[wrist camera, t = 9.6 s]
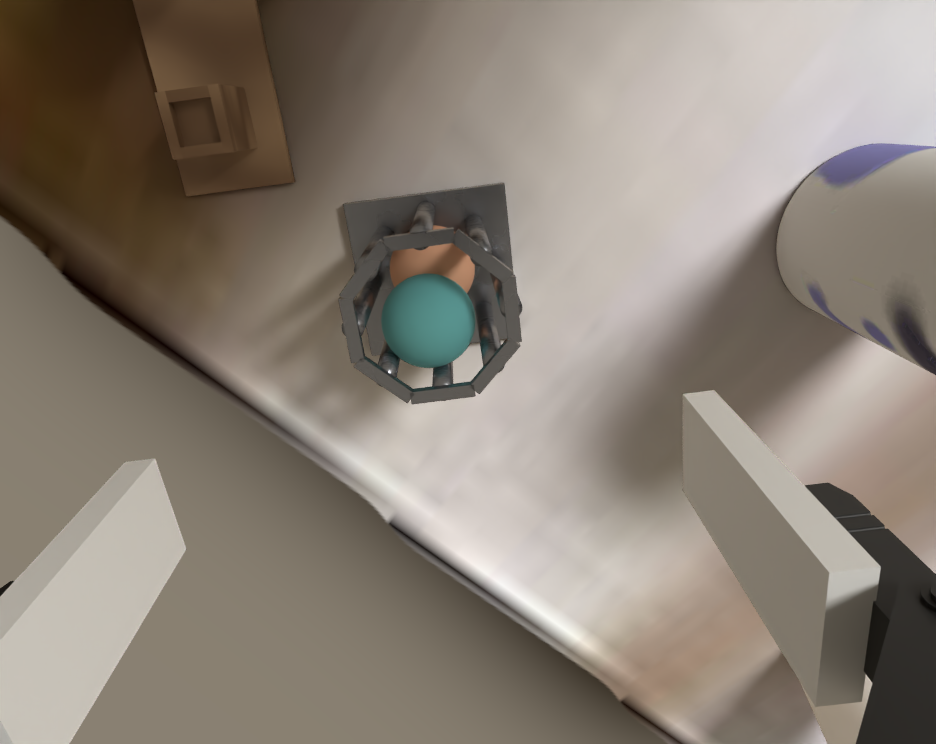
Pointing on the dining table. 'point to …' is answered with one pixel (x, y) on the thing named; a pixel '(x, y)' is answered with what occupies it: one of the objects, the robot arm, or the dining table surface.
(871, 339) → the container
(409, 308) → the teal ball
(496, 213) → the grey barred cage
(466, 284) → the tube ball
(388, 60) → the dining table surface
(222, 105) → the rack
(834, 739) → the foam cup
